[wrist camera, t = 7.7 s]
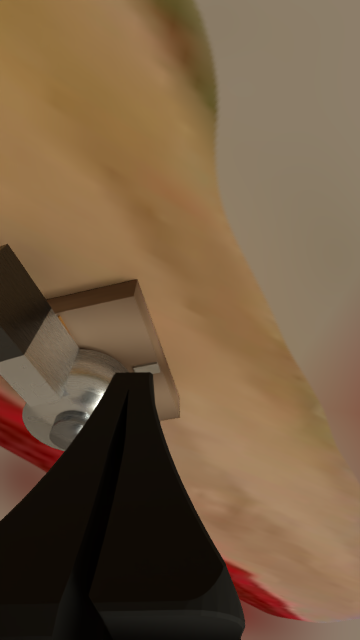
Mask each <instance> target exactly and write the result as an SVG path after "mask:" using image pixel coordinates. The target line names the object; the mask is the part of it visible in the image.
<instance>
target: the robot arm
mask: <svg viewBox="0 0 360 640" xmlns="http://www.w3.org/2000/svg"><path fill="white" fill-rule="evenodd" d="M244 628H245V619H244V614H243V610H242V607H241V603H240V600H239V597H238V595H237V592H236V590H235V587H234V584H233V582H232V580H231V577H230V575H229V572H228V570H227V567H226V564H225V562H224V560H223V558H222V557H221V555H220V553H219V552H218V550H217V548H216V547H215V545H214V543H213V541H212V540H211V538H210V536H209V534H208V533H207V531H206V529H205V527H204V525H203V523H202V521H201V520H200V518H199V516H198V514H197V512H196V510H195V508H194V506H193V504H192V502H191V500H190V498H189V496H188V494H187V492H186V490H185V488H184V485H183V483H182V481H181V479H180V476H179V474H178V472H177V469H176V467H175V465H174V462H173V460H172V457H171V454H170V452H169V449H168V446H167V443H166V440H165V437H164V434H163V431H162V428H161V425H160V421H159V417H158V413H157V409H156V405H155V393H154V380H153V374H152V373H150V372H126V373H115V374H114V375H113V377H112V379H111V381H110V383H109V385H108V387H107V389H106V391H105V392H104V394H103V396H102V397H101V399H100V401H99V403H98V404H97V406H96V407H95V409H94V410H93V412H92V414H91V415H90V417H89V418H88V420H87V421H86V423H85V424H84V426H83V427H82V429H81V430H80V431H79V433H78V434H77V436H76V437H75V438H74V440H73V441H72V443H71V444H70V445H69V447H68V448H67V449H66V450H65V452H64V453H63V454H62V455H61V457H60V458H59V459H58V460H57V462H56V463H55V464H54V465H53V466H52V468H51V469H50V470H49V471H48V472H47V473H46V475H45V476H44V477H43V478H42V479H41V480H40V481H39V482H38V484H37V485H36V486H35V487H34V488H33V489H32V490H31V491H30V492H29V493H28V494H27V495H26V496H25V497H24V499H22V501H21V502H20V503H19V504H17V505H16V506H15V507H14V508H13V509H12V510H11V511H10V512H9V513H8V515H6V516H5V517H4V518H3V519H2V520H1V521H0V640H241V636H242V633H243V631H244Z"/></svg>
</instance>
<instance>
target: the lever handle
mask: <svg viewBox="0 0 360 640" xmlns="http://www.w3.org/2000/svg"><path fill="white" fill-rule="evenodd" d="M126 372H128V370H127V369H126V368H125V367H124V366H123V365H122V364H121V363H120V362H119V361H117V360H116V359H114V358H113V357H111V356H109V355H106V354H104V353H101V352H98V351H93V350H86V349H79V347H78V346H77V344H76V343H75V341H74V340H73V338H72V337H71V336H70V334H69V333H68V331H67V330H66V328H65V327H64V325H63V324H62V322H61V321H60V320H59V318H58V317H57V315H56V314H55V312H54V311H53V309H52V308H51V306H50V305H49V303H48V302H47V301H46V299H45V298H44V296H43V295H42V293H41V292H40V290H39V289H38V287H37V286H36V284H35V283H34V282H33V280H32V279H31V277H30V276H29V274H28V273H27V271H26V270H25V268H24V267H23V265H22V264H21V263H20V261H19V260H18V258H17V257H16V255H15V254H14V252H13V251H12V249H11V248H10V246H9V245H8V244H6V245H3V246H0V375H1V376H2V377H3V378H4V379H5V380H6V381H7V382H8V383H9V384H10V385H11V386H12V388H13V389H14V390H15V391H16V392H17V393H18V394H19V395H20V396H21V397H22V398H23V399H24V400H25V402H26V405H25V407H24V409H23V422H24V424H25V426H26V428H27V429H28V431H29V432H30V433H31V434H32V435H33V436H34V437H35V438H37V439H38V440H39V441H41V442H43V443H44V444H46V445H48V446H50V447H53V448H56V449H59V450H62V451H65V450H66V449H67V448H68V447H69V445H70V444H71V443H72V441H73V440H74V438H75V437H76V436H77V434H78V433H79V431H80V430H81V429H82V427H83V426H84V424H85V423H86V421H87V420H88V418H89V417H90V415H91V414H92V412H93V410H94V409H95V407H96V406H97V404H98V403H99V401H100V399H101V397H102V396H103V394H104V392H105V391H106V389H107V387H108V385H109V383H110V381H111V379H112V377H113V375H114V374H115V373H126Z"/></svg>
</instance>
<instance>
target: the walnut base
mask: <svg viewBox="0 0 360 640" xmlns="http://www.w3.org/2000/svg"><path fill="white" fill-rule="evenodd" d="M46 301H47V302H48V303H49V305H50V306H51V308H52V309H53V311H54V312H55V314H56V315H57V317H58V318H59V320H60V321H61V322H62V324H63V325H64V327H65V328H66V330H67V331H68V333H69V334H70V336H71V337H72V338H73V340H74V341H75V343H76V344H77V346H78V347H79V349H86V350H93V351H98V352H101V353H104V354H106V355H109V356H111V357H113V358H114V359H116V360H117V361H119V362H120V363H121V364H122V365H123V366H124V367H125V368H126V369H127V370H128V372H150V373H152V374H153V380H154V393H155V405H156V409H157V413H158V417H159V421H162V420H168V419H174V418H180V398H179V394H178V392H177V389H176V386H175V383H174V380H173V378H172V375H171V372H170V369H169V367H168V364H167V361H166V358H165V355H164V353H163V350H162V347H161V344H160V341H159V339H158V336H157V333H156V330H155V327H154V325H153V322H152V319H151V316H150V314H149V311H148V308H147V305H146V302H145V300H144V297H143V294H142V291H141V288H140V286H139V283H138V280H133V281H128V282H124V283H119V284H115V285H111V286H106V287H102V288H97V289H93V290H88V291H84V292H79V293H75V294H71V295H66V296H62V297H57V298H53V299H48V300H46Z"/></svg>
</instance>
